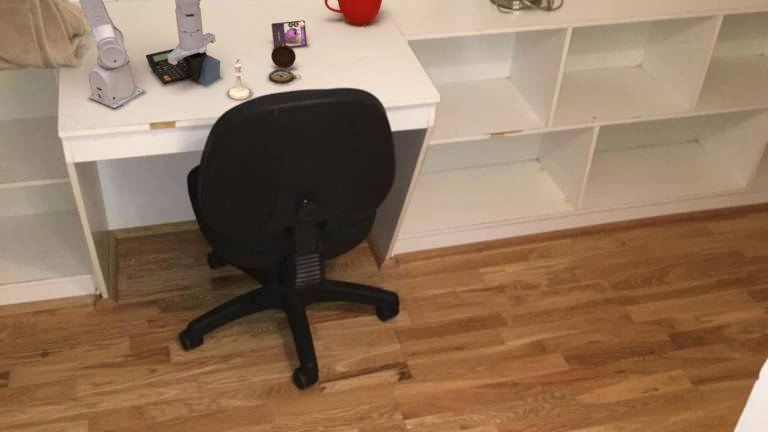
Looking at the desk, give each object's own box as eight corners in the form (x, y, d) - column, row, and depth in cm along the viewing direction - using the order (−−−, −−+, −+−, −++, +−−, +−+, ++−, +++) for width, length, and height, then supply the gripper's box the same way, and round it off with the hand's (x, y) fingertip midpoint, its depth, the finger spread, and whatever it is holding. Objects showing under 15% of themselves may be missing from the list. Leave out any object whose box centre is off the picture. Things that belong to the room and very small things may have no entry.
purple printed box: (272, 23, 207) (305, 20, 209) (268, 21, 211) (300, 18, 214) (274, 49, 209) (307, 46, 212) (270, 47, 214) (303, 43, 216)
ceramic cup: (317, 15, 227) (317, -18, 221) (371, 8, 233) (373, -24, 227) (332, 35, 218) (332, 1, 212) (388, 27, 224) (390, -6, 218)
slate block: (206, 85, 193) (206, 68, 190) (190, 77, 195) (190, 60, 192) (220, 78, 197) (220, 60, 194) (204, 70, 199) (204, 53, 195)
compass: (267, 83, 196) (266, 57, 191) (272, 68, 202) (271, 42, 198) (299, 86, 196) (298, 60, 191) (303, 70, 202) (303, 45, 197)
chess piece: (224, 94, 191) (221, 57, 185) (238, 86, 194) (236, 50, 188) (240, 101, 189) (237, 64, 183) (254, 93, 192) (251, 56, 186)
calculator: (164, 85, 193) (162, 74, 191) (147, 64, 200) (145, 54, 198) (200, 76, 197) (199, 65, 195) (182, 56, 204) (180, 46, 202)
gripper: (181, 43, 178) (187, 96, 186) (223, 21, 188) (227, 71, 196) (158, 35, 180) (165, 87, 189) (200, 13, 190) (205, 63, 199)
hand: (195, 78), depth 193 cm, fingers closed
